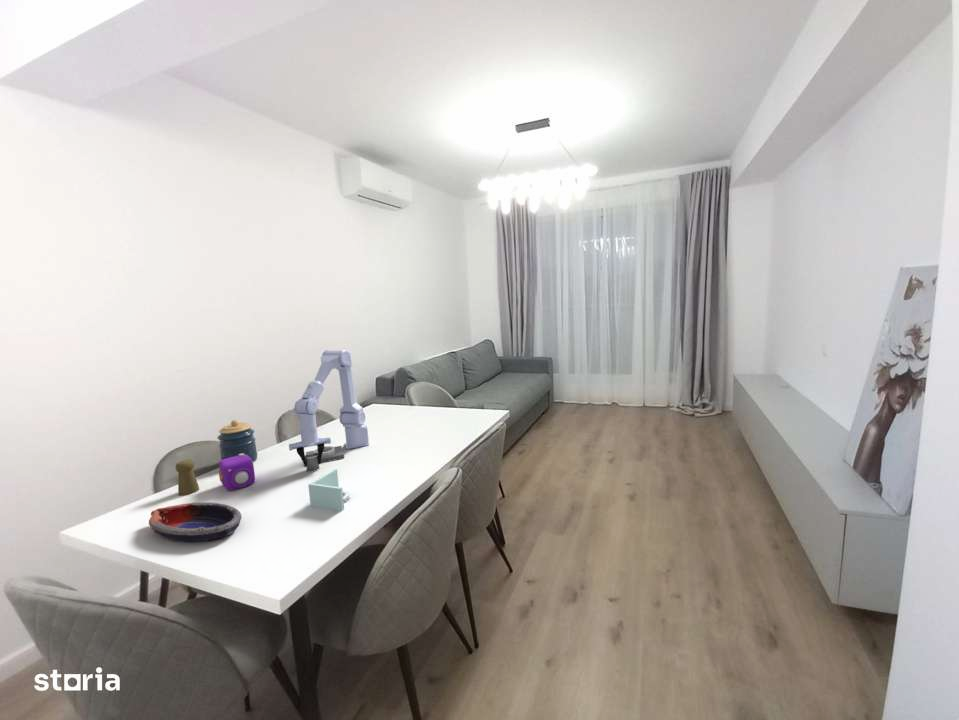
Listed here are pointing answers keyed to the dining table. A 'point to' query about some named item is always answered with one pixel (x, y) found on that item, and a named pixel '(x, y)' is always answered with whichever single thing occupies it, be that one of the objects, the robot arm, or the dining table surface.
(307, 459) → the lens
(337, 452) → the grey flat piece
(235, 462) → the toy camera
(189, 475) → the olive chess piece
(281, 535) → the dining table surface
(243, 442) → the canister
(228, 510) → the dish
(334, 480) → the right angle wall
